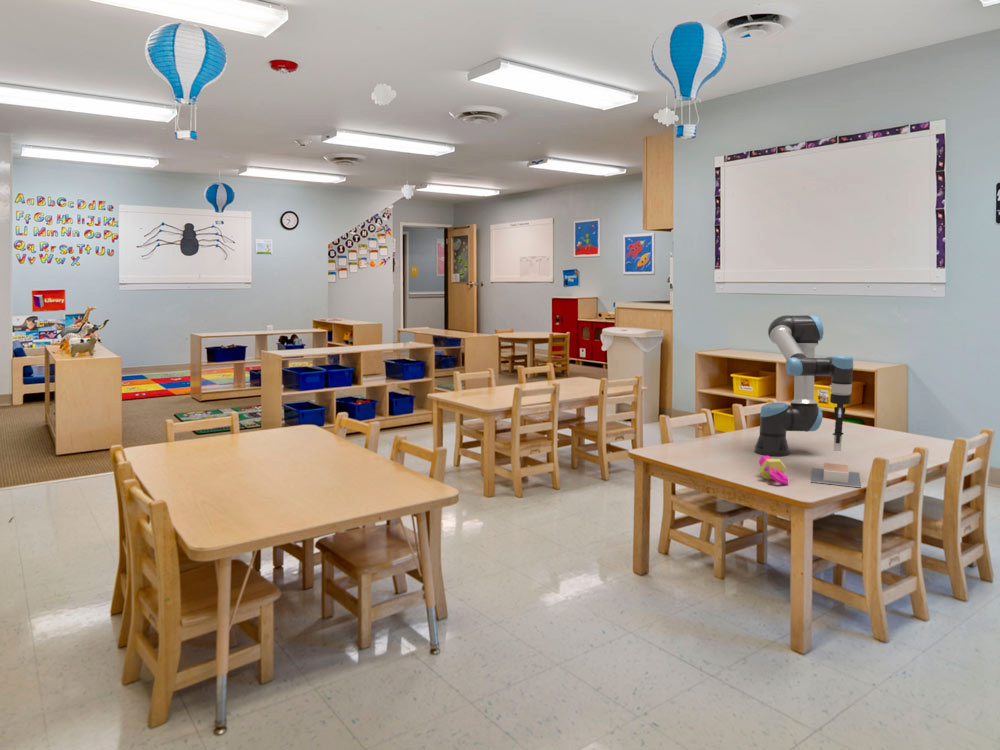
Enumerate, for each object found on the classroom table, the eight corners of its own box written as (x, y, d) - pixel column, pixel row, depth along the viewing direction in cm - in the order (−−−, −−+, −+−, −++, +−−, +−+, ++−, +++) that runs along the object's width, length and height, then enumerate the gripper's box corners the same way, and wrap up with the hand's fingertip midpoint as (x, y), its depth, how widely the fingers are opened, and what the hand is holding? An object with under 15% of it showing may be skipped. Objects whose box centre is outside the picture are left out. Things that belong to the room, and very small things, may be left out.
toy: (766, 488, 276) (781, 467, 272) (746, 464, 292) (760, 444, 289) (785, 496, 279) (800, 475, 275) (765, 471, 295) (779, 452, 292)
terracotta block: (824, 462, 293) (823, 470, 280) (848, 465, 289) (848, 473, 276) (823, 471, 293) (823, 480, 281) (847, 474, 289) (848, 483, 277)
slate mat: (812, 469, 300) (812, 467, 300) (859, 474, 292) (859, 472, 292) (810, 482, 280) (810, 480, 280) (861, 488, 272) (861, 486, 272)
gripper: (830, 390, 291) (827, 446, 294) (830, 395, 279) (826, 452, 282) (850, 392, 288) (846, 447, 291) (851, 396, 276) (847, 454, 279)
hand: (837, 450), depth 287 cm, fingers closed
